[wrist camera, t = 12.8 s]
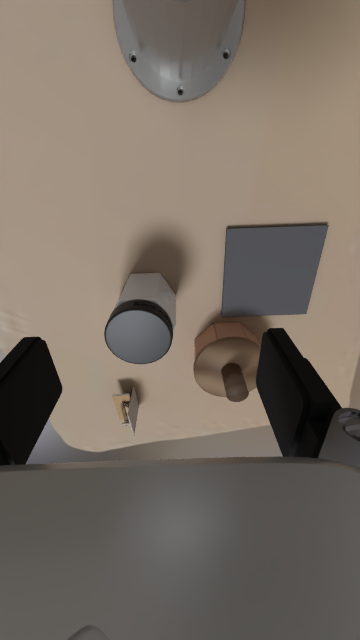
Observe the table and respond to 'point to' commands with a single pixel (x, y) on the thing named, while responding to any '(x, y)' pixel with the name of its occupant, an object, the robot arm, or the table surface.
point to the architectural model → (132, 408)
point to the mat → (270, 269)
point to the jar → (142, 319)
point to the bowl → (222, 334)
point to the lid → (228, 367)
